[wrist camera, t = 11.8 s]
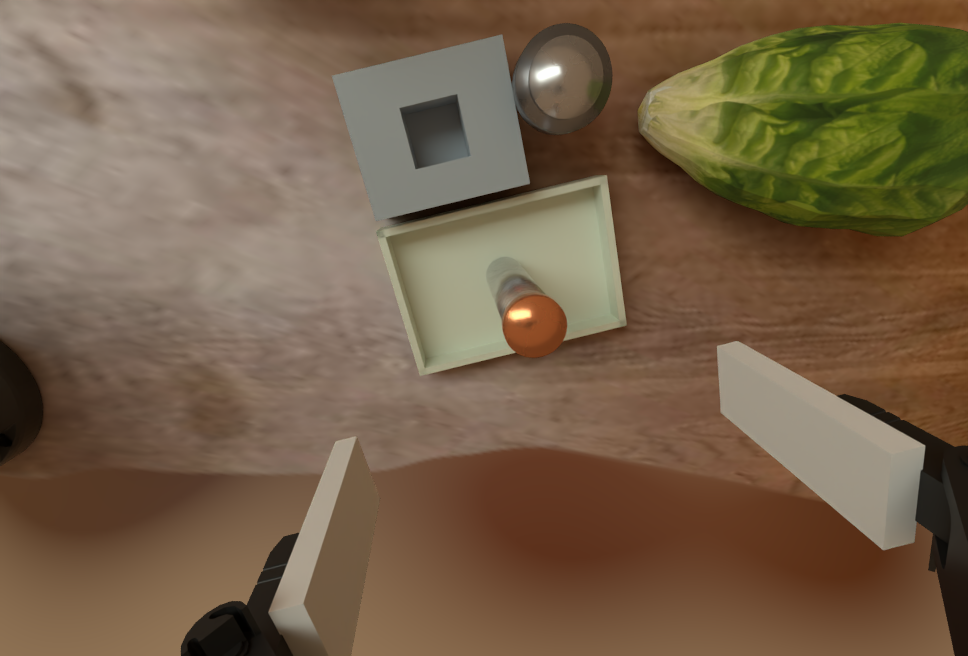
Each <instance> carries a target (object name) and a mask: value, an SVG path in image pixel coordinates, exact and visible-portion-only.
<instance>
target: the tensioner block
mask: <svg viewBox="0 0 968 656" xmlns="http://www.w3.org/2000/svg"><path fill="white" fill-rule="evenodd" d="M332 78H333V81H334V85H335V88H336V91H337V95H338V98H339V101H340V104H341V108H342V111H343V114H344V118H345V121H346V124H347V128H348V131H349V134H350V137H351V141H352V144H353V147H354V151H355V154H356V157H357V161H358V164H359V167H360V170H361V174H362V177H363V180H364V184H365V187H366V190H367V193H368V197H369V200H370V203H371V207H372V210H373V213H374V217H375V220H376V221H379V220H383V219H387V218H391V217H396V216H400V215H404V214H408V213H412V212H416V211H420V210H424V209H428V208H432V207H436V206H441V205H445V204H449V203H453V202H457V201H461V200H465V199H469V198H473V197H477V196H481V195H486V194H490V193H494V192H498V191H502V190H506V189H510V188H514V187H518V186H522V185H527V184H530V180H529V175H528V170H527V164H526V159H525V154H524V148H523V143H522V138H521V132H520V127H519V122H518V116H517V111H516V106H515V101H514V97H513V90H512V84H511V79H510V74H509V68H508V63H507V58H506V52H505V47H504V42H503V36H502V35H498V36H494V37H490V38H485V39H481V40H477V41H473V42H469V43H465V44H461V45H457V46H453V47H449V48H444V49H440V50H436V51H432V52H428V53H424V54H420V55H416V56H412V57H408V58H403V59H399V60H395V61H391V62H387V63H383V64H379V65H375V66H371V67H367V68H362V69H358V70H354V71H350V72H346V73H342V74H338V75H334V76H332Z"/></svg>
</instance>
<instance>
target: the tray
mask: <svg viewBox="0 0 968 656" xmlns="http://www.w3.org/2000/svg"><path fill="white" fill-rule="evenodd" d="M376 233H377V236H378V240H379V243H380V246H381V249H382V253H383V256H384V259H385V263H386V266H387V269H388V272H389V276H390V279H391V282H392V286H393V289H394V292H395V295H396V299H397V302H398V305H399V308H400V312H401V315H402V318H403V322H404V325H405V328H406V331H407V335H408V338H409V341H410V344H411V348H412V351H413V354H414V358H415V361H416V364H417V367H418V371H419V374H420V376H422V375H426V374H430V373H434V372H439V371H443V370H447V369H451V368H455V367H459V366H463V365H467V364H471V363H475V362H479V361H483V360H488V359H492V358H496V357H500V356H504V355H508V354H512V353H516V352H515V351H513V350H512V349H511V348H510V346H509V345H508V343H507V342H506V339H505V337H504V334H503V331H502V320H501V317H500V314H499V312H498V309H497V307H496V304H495V301H494V299H493V296H492V294H491V291H490V288H489V286H488V283H487V280H486V272H487V268H488V266H489V265H490V264H491V262H493V261H494V260H495V259H497V258H500V257H511V258H513V259H515V260H517V261H518V262H519V263H520V264H521V266H522V267H523V268H524V269H525V270H526V272H527V273H528V274H529V275H530V276H531V278H532V279H533V280H534V281H535V282H536V284H537V285H538V286H539V287H540V288H541V290H542V291H543V292H544V293H545V294H546V295H548V296H550V297H551V298H553V299H554V300H555V301H556V302H557V303H558V304H559V306H560V307H561V308H562V309H563V311H564V313H565V315H566V319H567V332H566V335H565V338H564V340H563V341H565V340H569V339H573V338H577V337H582V336H586V335H590V334H594V333H598V332H602V331H606V330H610V329H614V328H618V327H622V326H626V325H627V324H626V316H625V309H624V301H623V293H622V286H621V278H620V271H619V263H618V256H617V248H616V241H615V233H614V226H613V218H612V211H611V203H610V196H609V188H608V181H607V175H595V176H591V177H587V178H583V179H578V180H574V181H570V182H566V183H562V184H558V185H554V186H550V187H546V188H542V189H537V190H533V191H529V192H525V193H521V194H517V195H513V196H509V197H505V198H501V199H497V200H492V201H488V202H484V203H480V204H476V205H472V206H468V207H464V208H460V209H456V210H452V211H447V212H443V213H439V214H435V215H431V216H427V217H423V218H419V219H415V220H411V221H406V222H402V223H398V224H394V225H390V226H386V227H382V228H380V229H379V230H377V231H376Z"/></svg>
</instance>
